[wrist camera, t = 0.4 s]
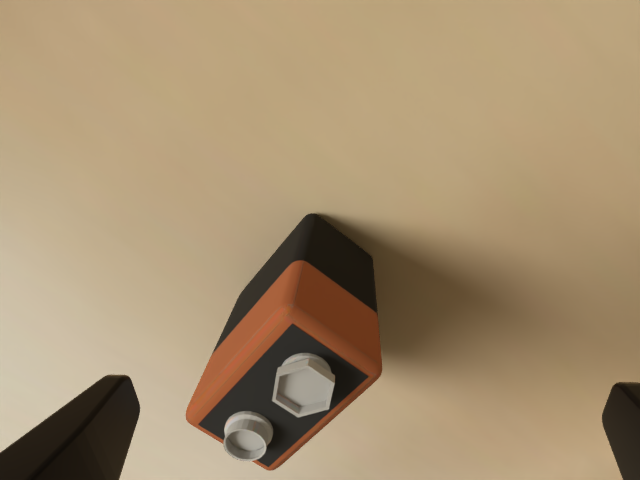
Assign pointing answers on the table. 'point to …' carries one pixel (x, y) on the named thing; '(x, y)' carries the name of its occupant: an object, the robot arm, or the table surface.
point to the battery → (292, 348)
